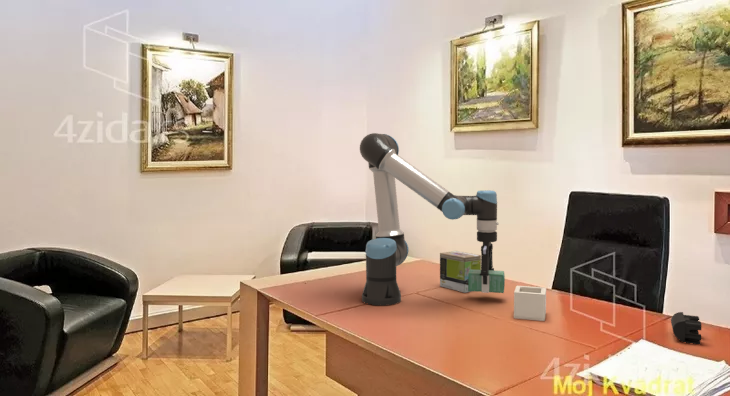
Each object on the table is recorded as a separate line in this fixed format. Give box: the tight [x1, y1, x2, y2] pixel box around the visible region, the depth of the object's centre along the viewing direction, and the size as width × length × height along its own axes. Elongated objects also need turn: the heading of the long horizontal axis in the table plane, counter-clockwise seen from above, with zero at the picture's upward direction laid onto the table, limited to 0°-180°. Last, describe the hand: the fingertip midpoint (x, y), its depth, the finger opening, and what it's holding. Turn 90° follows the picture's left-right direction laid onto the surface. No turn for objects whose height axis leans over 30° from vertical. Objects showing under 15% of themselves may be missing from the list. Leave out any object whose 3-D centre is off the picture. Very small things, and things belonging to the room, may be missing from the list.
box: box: [468, 269, 506, 294], centre depth 203 cm, size 7×14×8 cm, turn 75°
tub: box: [513, 285, 547, 322], centre depth 182 cm, size 10×10×9 cm
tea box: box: [439, 250, 481, 294], centre depth 221 cm, size 15×10×15 cm
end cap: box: [670, 311, 702, 345], centre depth 158 cm, size 10×7×7 cm
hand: (486, 289), depth 203 cm, fingers closed on box, 8 cm apart
